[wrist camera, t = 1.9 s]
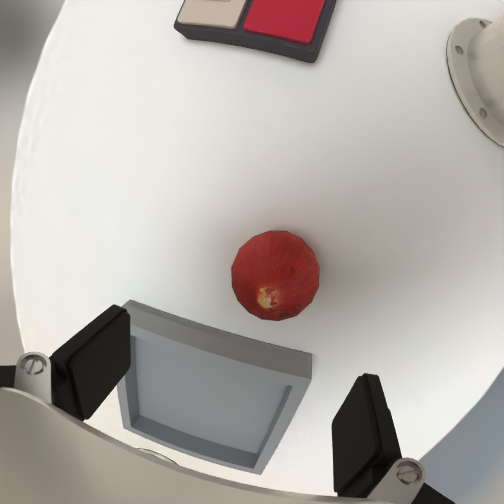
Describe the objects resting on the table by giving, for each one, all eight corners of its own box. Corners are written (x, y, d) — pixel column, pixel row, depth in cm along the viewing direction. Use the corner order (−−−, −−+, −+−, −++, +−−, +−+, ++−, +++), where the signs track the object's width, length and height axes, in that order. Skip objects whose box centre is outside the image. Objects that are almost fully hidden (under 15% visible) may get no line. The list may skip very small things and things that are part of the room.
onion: (327, 280, 22) (335, 335, 15) (260, 300, 24) (239, 358, 16) (302, 210, 21) (300, 236, 14) (232, 236, 23) (196, 272, 15)
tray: (311, 354, 25) (311, 379, 21) (265, 454, 30) (260, 474, 27) (130, 299, 27) (110, 315, 23) (135, 411, 32) (123, 428, 29)
